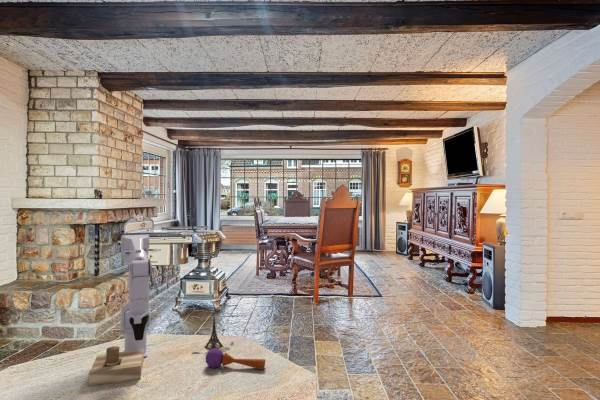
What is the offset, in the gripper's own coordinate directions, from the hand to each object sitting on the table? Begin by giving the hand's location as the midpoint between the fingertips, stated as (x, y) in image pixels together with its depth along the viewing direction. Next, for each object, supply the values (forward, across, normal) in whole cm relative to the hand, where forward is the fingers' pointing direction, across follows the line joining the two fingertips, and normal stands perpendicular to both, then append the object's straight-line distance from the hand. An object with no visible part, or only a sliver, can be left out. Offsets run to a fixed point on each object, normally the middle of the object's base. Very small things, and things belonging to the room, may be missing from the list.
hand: (139, 339), depth 114 cm
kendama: (+11, +7, +30) cm, 33 cm away
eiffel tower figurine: (+11, -12, +25) cm, 30 cm away
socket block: (+10, -2, -6) cm, 12 cm away
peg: (+10, 0, -8) cm, 12 cm away
